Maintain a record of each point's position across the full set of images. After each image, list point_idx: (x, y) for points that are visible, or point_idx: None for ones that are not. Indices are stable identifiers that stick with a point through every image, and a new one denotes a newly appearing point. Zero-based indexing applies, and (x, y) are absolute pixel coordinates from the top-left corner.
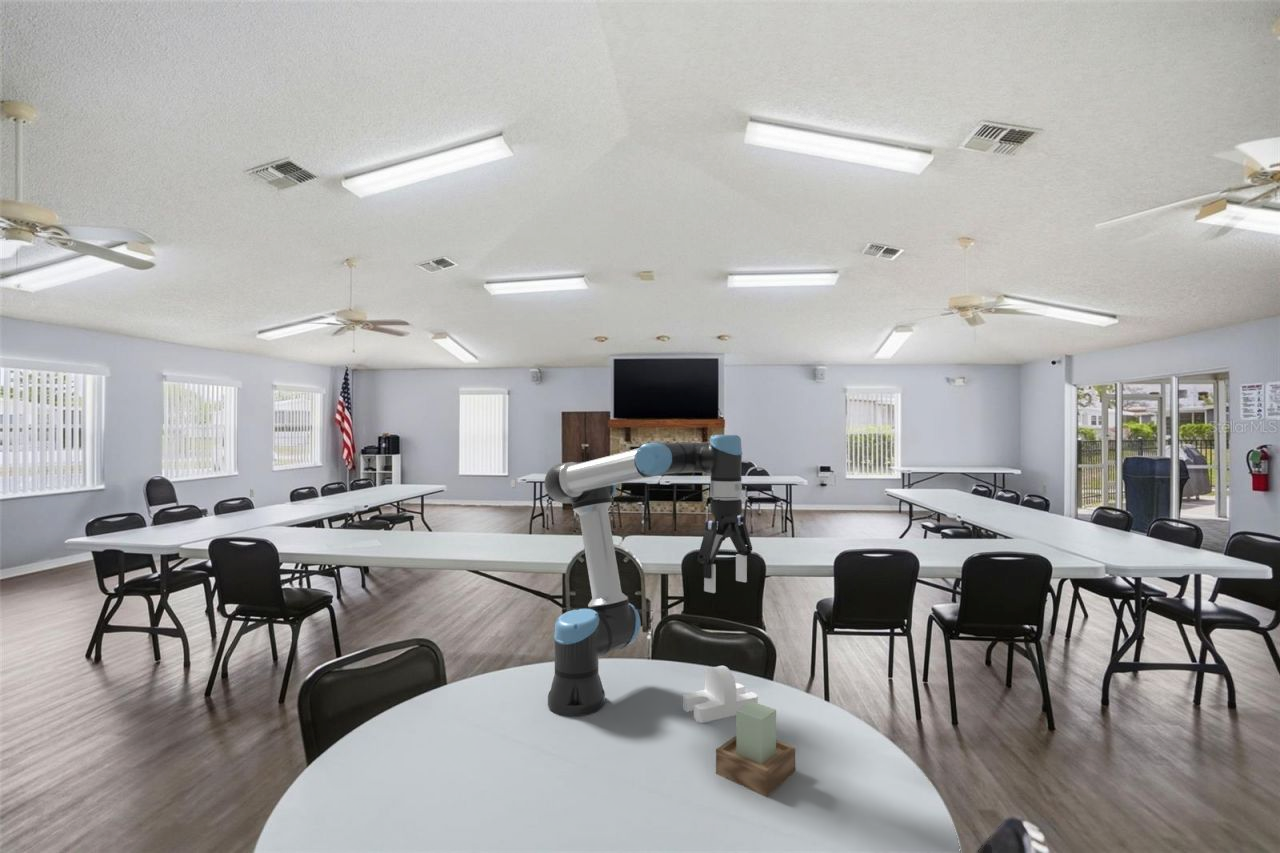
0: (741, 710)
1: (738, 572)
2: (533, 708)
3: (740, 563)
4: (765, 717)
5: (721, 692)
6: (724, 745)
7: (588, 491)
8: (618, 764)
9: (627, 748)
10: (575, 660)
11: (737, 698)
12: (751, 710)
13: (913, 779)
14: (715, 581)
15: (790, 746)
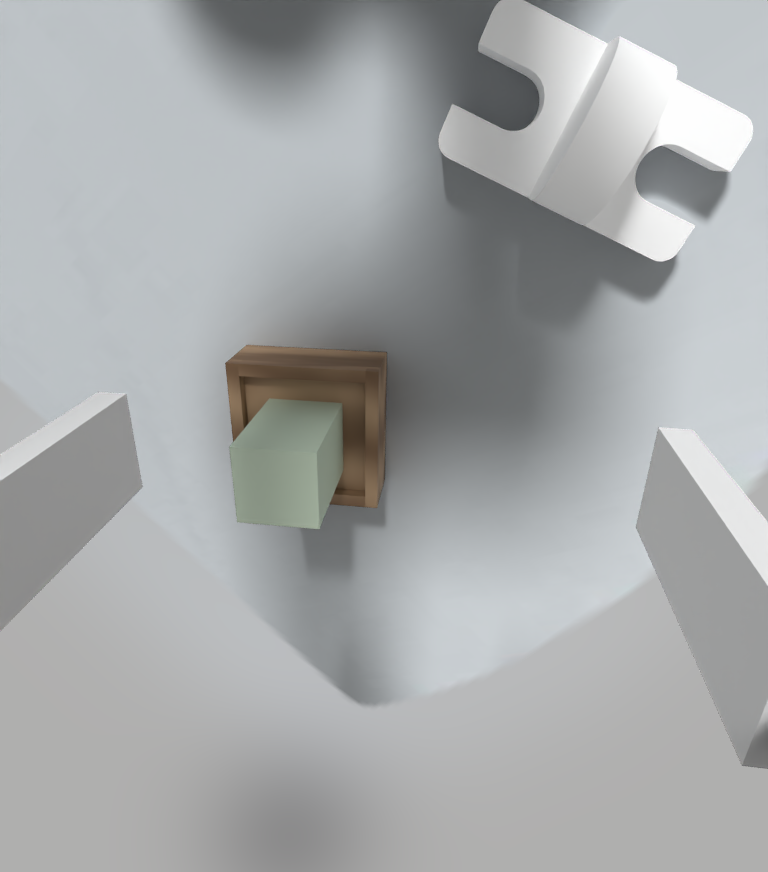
0: (241, 457)
1: (679, 506)
2: None
3: (716, 605)
4: (258, 523)
5: (542, 178)
6: (255, 371)
7: None
8: (81, 109)
9: (152, 63)
10: None
11: (603, 209)
12: (262, 479)
13: (514, 656)
14: (85, 541)
15: (371, 498)
